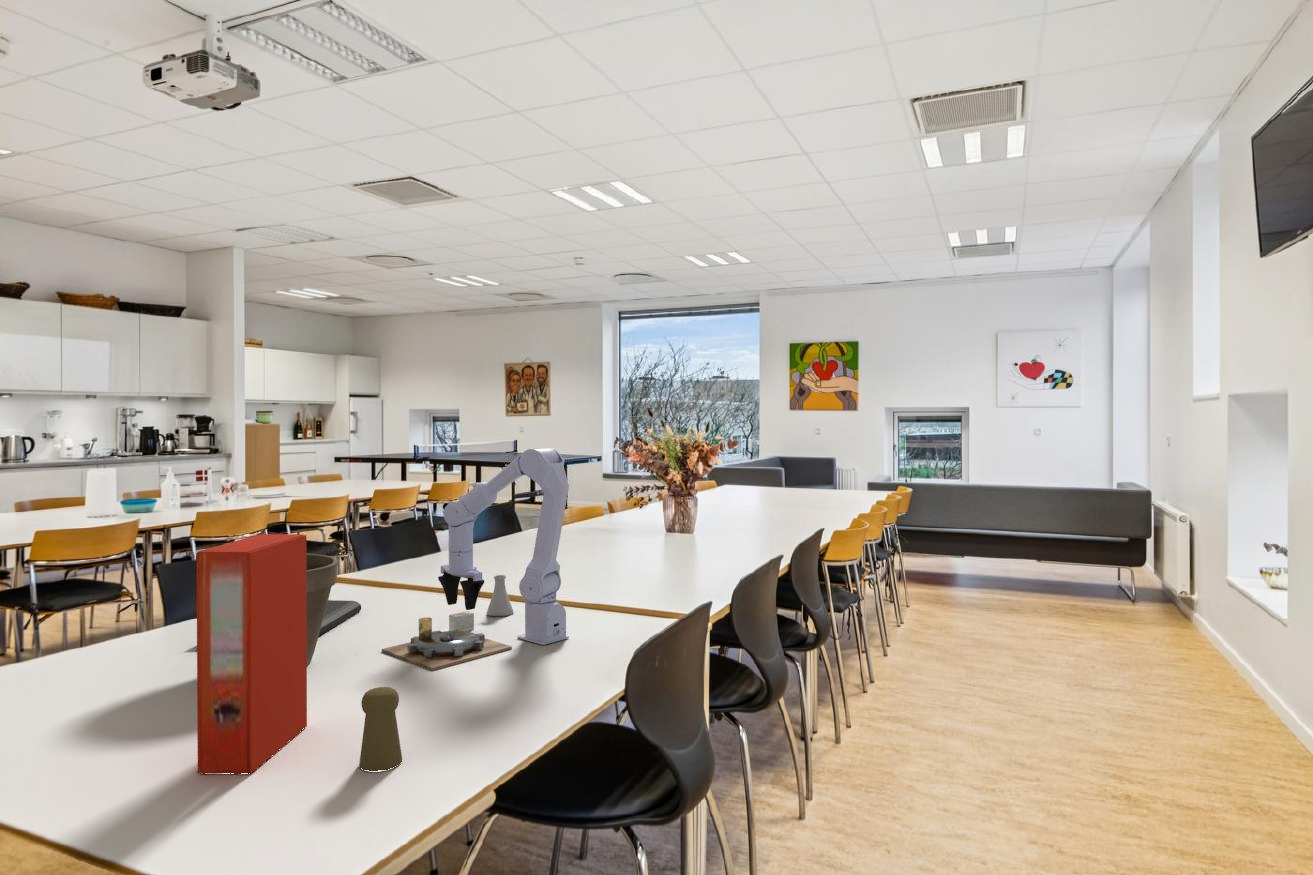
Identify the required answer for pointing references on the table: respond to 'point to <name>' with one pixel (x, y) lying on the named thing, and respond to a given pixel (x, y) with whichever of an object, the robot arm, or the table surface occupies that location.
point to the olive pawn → (380, 730)
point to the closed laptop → (338, 613)
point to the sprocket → (444, 641)
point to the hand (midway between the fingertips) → (461, 606)
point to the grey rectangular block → (461, 621)
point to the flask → (499, 599)
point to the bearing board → (444, 661)
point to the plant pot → (318, 595)
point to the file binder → (250, 650)
